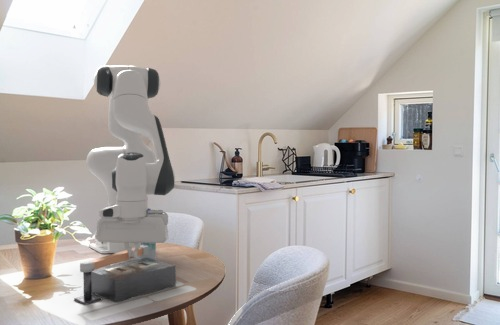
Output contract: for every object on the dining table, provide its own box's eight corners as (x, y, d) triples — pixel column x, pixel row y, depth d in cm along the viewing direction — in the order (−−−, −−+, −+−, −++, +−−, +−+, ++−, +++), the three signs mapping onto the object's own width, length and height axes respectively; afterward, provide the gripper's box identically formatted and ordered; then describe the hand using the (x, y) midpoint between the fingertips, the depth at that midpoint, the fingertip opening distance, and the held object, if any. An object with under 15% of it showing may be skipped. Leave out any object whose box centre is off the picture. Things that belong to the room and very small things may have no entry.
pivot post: (74, 300, 137) (73, 271, 136) (91, 296, 140) (90, 268, 140) (84, 304, 133) (83, 275, 133) (101, 300, 137) (100, 271, 136)
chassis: (87, 291, 144) (87, 268, 144) (146, 276, 159) (146, 256, 159) (115, 302, 135) (115, 278, 134) (175, 285, 149) (175, 264, 149)
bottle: (149, 265, 172) (149, 206, 171) (161, 269, 167) (160, 208, 166) (132, 269, 167) (131, 208, 166) (143, 273, 163) (142, 210, 161)
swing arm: (87, 273, 134) (86, 264, 134) (77, 271, 135) (77, 262, 135) (149, 254, 155) (149, 246, 155) (140, 252, 157) (139, 244, 157)
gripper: (170, 208, 150) (171, 255, 150) (101, 207, 151) (102, 254, 152) (165, 211, 143) (166, 260, 144) (93, 211, 145) (94, 259, 146)
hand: (132, 257), depth 148 cm, fingers closed
